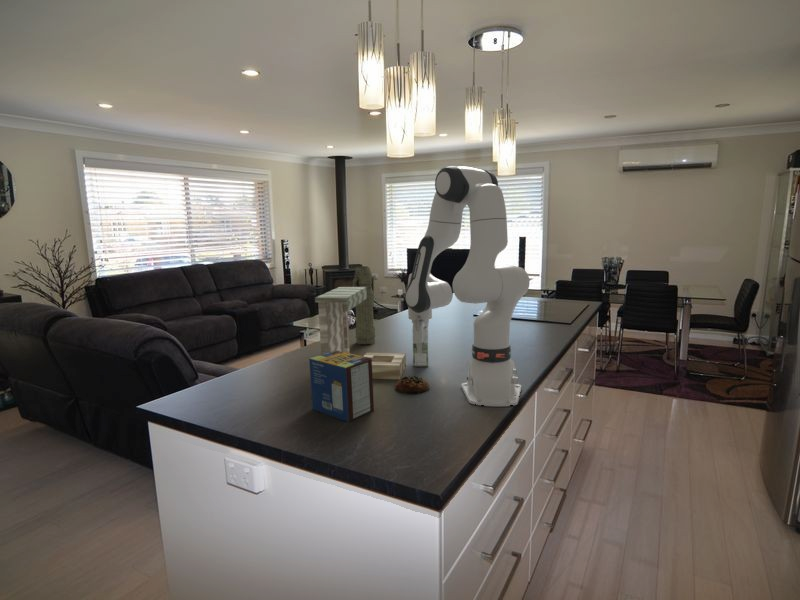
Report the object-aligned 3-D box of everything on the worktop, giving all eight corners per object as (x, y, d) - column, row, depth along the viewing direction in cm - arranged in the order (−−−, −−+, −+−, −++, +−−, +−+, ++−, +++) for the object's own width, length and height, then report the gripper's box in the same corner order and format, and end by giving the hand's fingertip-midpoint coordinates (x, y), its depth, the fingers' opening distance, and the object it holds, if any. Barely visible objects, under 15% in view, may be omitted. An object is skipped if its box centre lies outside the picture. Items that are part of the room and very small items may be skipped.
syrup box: (428, 362, 173) (428, 325, 171) (428, 366, 167) (427, 329, 165) (414, 362, 174) (413, 325, 171) (413, 366, 168) (412, 329, 166)
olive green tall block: (349, 344, 204) (346, 267, 198) (366, 338, 213) (363, 265, 208) (365, 346, 199) (362, 268, 193) (381, 341, 208) (378, 265, 203)
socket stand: (396, 385, 148) (394, 297, 143) (319, 383, 152) (314, 297, 147) (408, 361, 175) (406, 286, 171) (342, 360, 179) (339, 286, 175)
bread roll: (400, 396, 138) (399, 380, 138) (391, 389, 149) (391, 374, 149) (434, 393, 141) (433, 377, 141) (423, 386, 152) (423, 372, 152)
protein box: (337, 398, 138) (335, 349, 136) (374, 410, 128) (372, 357, 126) (311, 409, 130) (308, 357, 128) (348, 422, 120) (345, 367, 118)
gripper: (425, 319, 157) (426, 357, 159) (430, 308, 177) (431, 343, 179) (408, 319, 158) (409, 357, 160) (414, 309, 178) (415, 342, 180)
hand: (420, 349), depth 169 cm, fingers open, 7 cm apart
